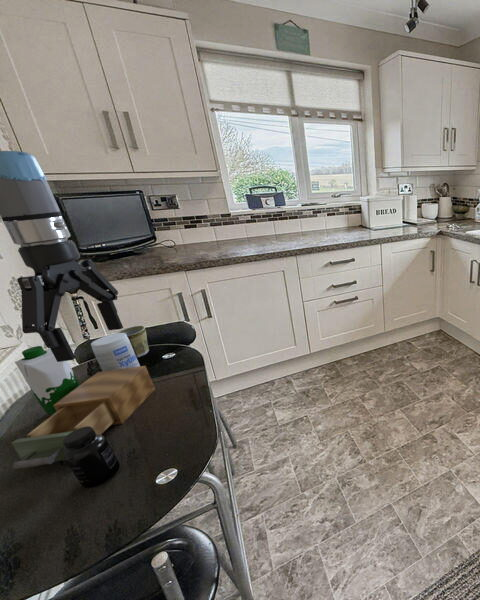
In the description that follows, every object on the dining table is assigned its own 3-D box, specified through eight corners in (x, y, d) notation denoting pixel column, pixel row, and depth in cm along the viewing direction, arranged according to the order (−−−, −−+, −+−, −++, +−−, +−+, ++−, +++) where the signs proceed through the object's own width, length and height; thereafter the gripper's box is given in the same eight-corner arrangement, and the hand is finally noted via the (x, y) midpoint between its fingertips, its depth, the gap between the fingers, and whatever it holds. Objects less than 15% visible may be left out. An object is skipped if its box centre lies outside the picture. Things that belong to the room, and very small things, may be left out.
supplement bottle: (107, 460, 77) (85, 420, 73) (128, 465, 75) (106, 424, 71) (73, 486, 71) (47, 443, 67) (94, 492, 69) (69, 449, 65)
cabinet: (122, 423, 89) (109, 397, 86) (68, 431, 88) (52, 405, 85) (155, 389, 104) (145, 365, 101) (109, 395, 103) (97, 371, 100)
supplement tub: (133, 381, 109) (115, 343, 104) (101, 387, 108) (81, 348, 102) (147, 366, 118) (132, 330, 113) (118, 371, 117) (101, 335, 111)
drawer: (68, 472, 73) (54, 448, 71) (7, 481, 72) (-9, 458, 70) (124, 415, 91) (114, 395, 89) (76, 422, 90) (64, 402, 88)
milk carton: (77, 396, 104) (47, 341, 97) (94, 401, 101) (64, 344, 93) (41, 415, 96) (6, 356, 89) (58, 420, 93) (23, 360, 86)
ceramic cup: (158, 350, 130) (149, 328, 126) (128, 363, 122) (118, 339, 118) (144, 344, 136) (135, 322, 133) (115, 355, 129) (105, 333, 125)
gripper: (-2, 255, 49) (62, 373, 57) (113, 230, 72) (148, 317, 80) (-56, 260, 49) (16, 380, 56) (77, 233, 72) (115, 320, 80)
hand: (93, 343), depth 68 cm, fingers open, 13 cm apart
